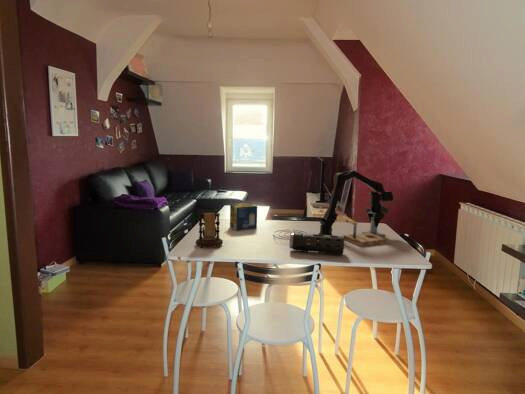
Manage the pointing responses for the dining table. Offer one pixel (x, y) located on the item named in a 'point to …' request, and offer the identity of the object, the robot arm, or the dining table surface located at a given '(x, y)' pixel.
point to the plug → (373, 227)
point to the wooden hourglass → (209, 230)
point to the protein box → (243, 216)
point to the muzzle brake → (317, 243)
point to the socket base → (365, 239)
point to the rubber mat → (376, 234)
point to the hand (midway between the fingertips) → (373, 225)
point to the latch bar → (353, 224)
